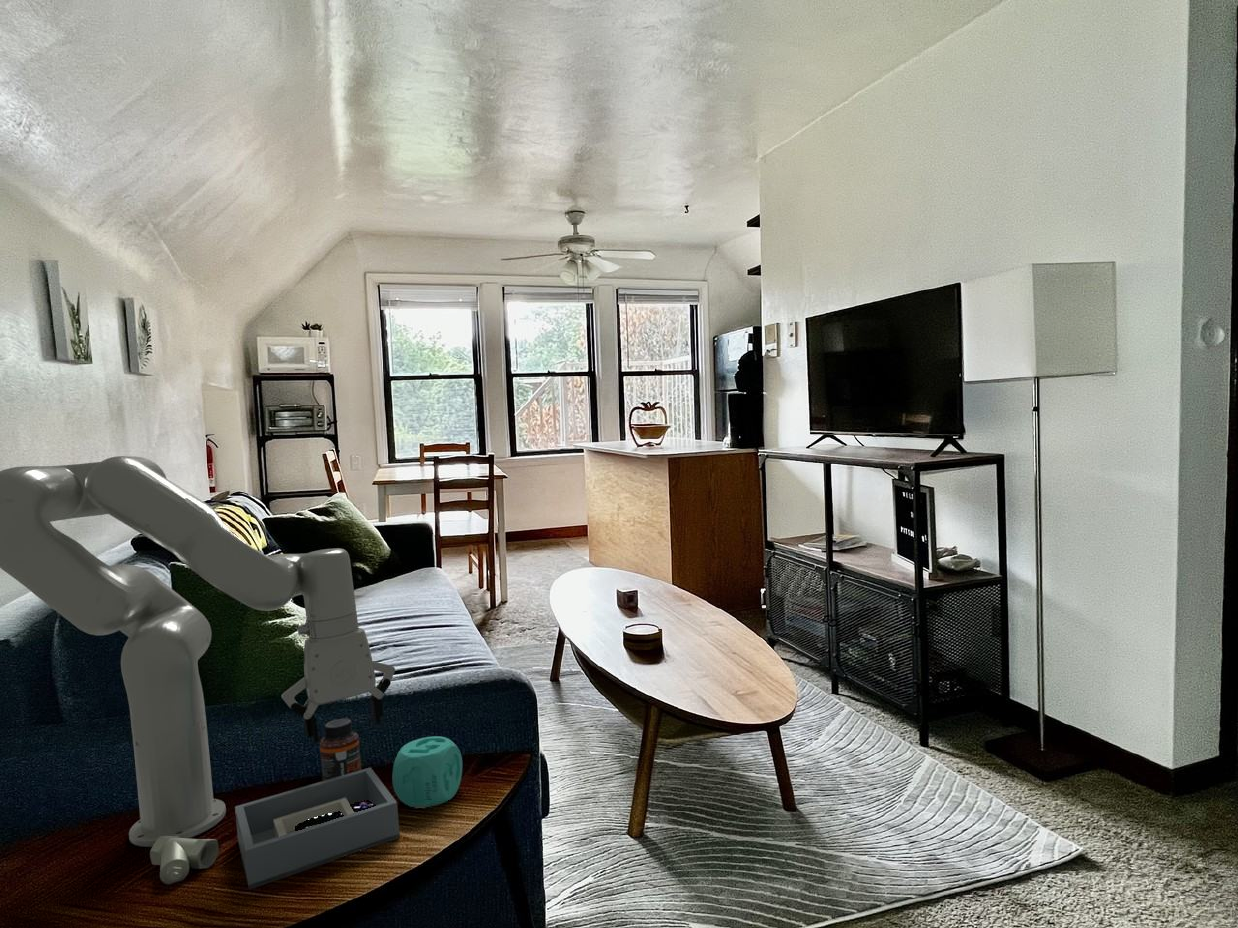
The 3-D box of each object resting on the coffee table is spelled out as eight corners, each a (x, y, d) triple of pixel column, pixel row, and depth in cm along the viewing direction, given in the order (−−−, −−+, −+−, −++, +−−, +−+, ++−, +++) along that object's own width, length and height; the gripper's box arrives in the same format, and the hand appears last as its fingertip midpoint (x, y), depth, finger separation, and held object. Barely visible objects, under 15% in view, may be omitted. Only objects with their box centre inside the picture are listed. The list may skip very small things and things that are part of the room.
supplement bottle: (354, 799, 116) (348, 728, 116) (317, 802, 116) (311, 731, 116) (368, 782, 122) (362, 714, 122) (332, 784, 122) (326, 717, 122)
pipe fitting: (180, 892, 95) (220, 859, 101) (175, 864, 94) (216, 832, 101) (130, 887, 97) (173, 855, 103) (126, 859, 96) (169, 829, 103)
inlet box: (238, 840, 106) (234, 806, 106) (373, 798, 116) (370, 767, 116) (249, 889, 93) (245, 850, 93) (400, 837, 103) (396, 802, 103)
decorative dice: (393, 808, 112) (389, 756, 112) (419, 783, 120) (415, 735, 120) (442, 810, 110) (437, 757, 110) (464, 785, 118) (460, 736, 118)
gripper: (277, 643, 111) (292, 755, 111) (393, 617, 120) (406, 721, 120) (271, 635, 117) (285, 741, 118) (381, 611, 126) (393, 709, 127)
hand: (346, 730), depth 119 cm, fingers open, 9 cm apart
